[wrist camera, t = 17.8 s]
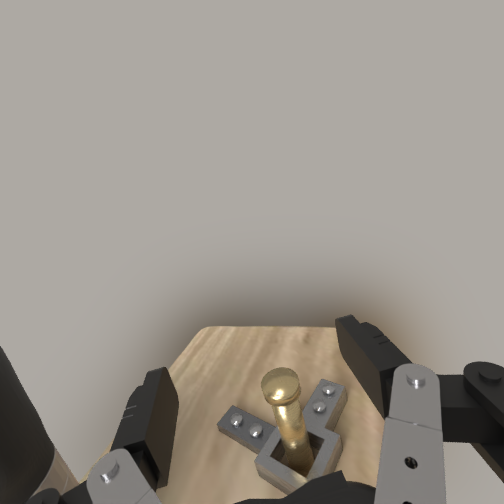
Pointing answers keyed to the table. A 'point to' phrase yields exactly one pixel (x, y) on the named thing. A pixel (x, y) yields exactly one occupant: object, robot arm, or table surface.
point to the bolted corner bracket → (271, 446)
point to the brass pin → (289, 417)
